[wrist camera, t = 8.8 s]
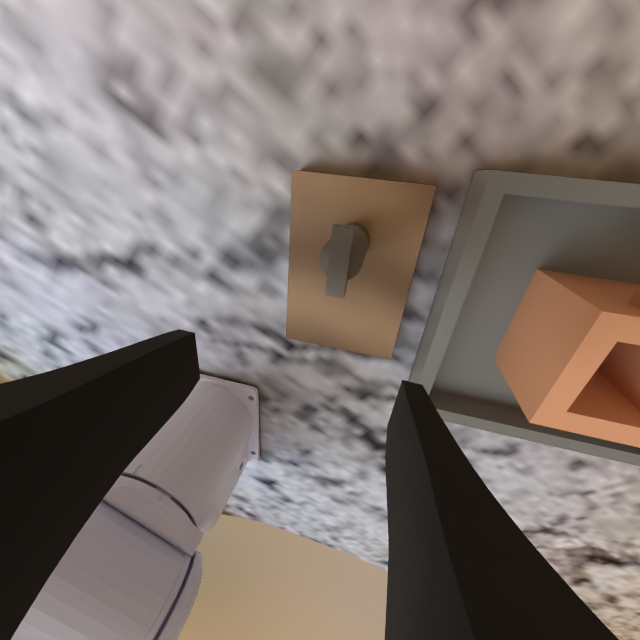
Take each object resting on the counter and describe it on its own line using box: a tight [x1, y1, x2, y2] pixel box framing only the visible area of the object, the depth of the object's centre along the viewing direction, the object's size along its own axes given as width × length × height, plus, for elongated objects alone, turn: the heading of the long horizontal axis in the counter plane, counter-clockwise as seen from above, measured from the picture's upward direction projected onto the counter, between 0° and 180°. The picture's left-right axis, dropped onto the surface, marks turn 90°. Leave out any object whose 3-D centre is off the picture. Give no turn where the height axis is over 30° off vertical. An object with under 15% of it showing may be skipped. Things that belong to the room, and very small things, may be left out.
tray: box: [408, 170, 640, 466], centre depth 14 cm, size 14×14×2 cm
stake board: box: [286, 170, 437, 359], centre depth 14 cm, size 10×7×6 cm
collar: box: [494, 269, 640, 448], centre depth 12 cm, size 7×6×5 cm
